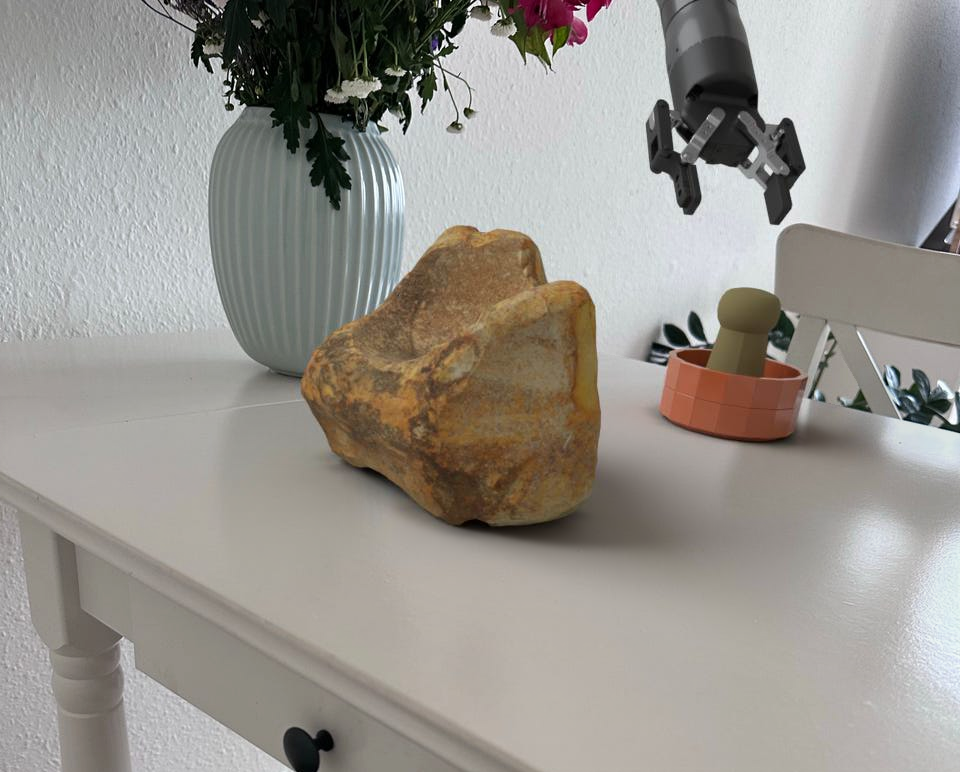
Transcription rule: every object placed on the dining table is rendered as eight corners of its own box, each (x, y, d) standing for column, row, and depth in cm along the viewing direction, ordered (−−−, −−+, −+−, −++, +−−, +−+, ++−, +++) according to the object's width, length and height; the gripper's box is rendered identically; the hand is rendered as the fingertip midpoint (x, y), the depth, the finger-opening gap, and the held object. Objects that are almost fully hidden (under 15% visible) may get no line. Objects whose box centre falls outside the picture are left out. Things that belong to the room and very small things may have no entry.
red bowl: (751, 411, 92) (765, 353, 90) (816, 448, 82) (834, 383, 80) (637, 404, 89) (649, 344, 87) (690, 442, 79) (705, 374, 77)
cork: (702, 405, 89) (730, 281, 84) (766, 420, 87) (798, 293, 82) (680, 416, 85) (708, 284, 80) (747, 432, 82) (779, 297, 77)
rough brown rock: (298, 433, 71) (285, 214, 64) (515, 426, 75) (527, 218, 67) (319, 570, 52) (304, 277, 44) (612, 552, 55) (644, 278, 48)
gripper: (655, 21, 84) (682, 173, 79) (799, 45, 88) (832, 192, 83) (622, 91, 91) (645, 235, 86) (757, 111, 95) (786, 250, 90)
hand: (737, 213), depth 85 cm, fingers open, 8 cm apart
